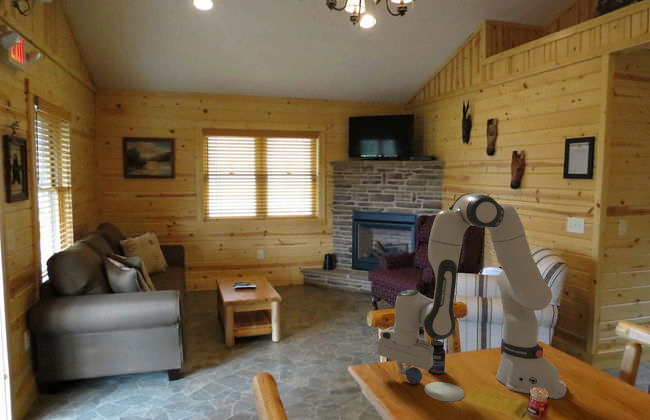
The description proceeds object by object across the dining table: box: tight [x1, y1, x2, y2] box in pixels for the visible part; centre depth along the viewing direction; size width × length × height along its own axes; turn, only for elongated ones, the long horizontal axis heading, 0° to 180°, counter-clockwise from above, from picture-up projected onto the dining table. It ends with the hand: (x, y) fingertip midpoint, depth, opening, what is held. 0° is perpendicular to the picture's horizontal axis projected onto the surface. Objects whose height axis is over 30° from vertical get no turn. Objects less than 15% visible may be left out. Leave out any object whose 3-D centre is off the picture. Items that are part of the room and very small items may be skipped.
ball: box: [405, 366, 423, 385], centre depth 158 cm, size 6×6×6 cm
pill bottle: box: [427, 339, 446, 376], centre depth 167 cm, size 6×6×11 cm
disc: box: [423, 381, 465, 403], centre depth 152 cm, size 13×13×1 cm
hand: (403, 373), depth 160 cm, fingers closed
